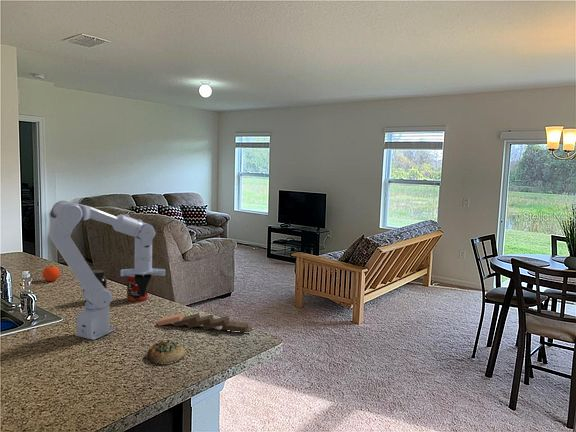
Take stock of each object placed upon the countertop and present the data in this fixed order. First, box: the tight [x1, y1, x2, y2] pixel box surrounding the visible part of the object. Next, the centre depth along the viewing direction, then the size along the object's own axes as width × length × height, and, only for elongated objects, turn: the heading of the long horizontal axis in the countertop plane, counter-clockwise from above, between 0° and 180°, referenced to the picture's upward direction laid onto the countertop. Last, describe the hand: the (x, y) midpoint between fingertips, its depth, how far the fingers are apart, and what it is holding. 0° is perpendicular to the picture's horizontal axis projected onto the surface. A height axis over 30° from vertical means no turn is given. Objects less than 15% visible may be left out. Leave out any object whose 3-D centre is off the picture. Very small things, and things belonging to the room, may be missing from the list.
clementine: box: [42, 265, 61, 282], centre depth 196 cm, size 8×7×7 cm
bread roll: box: [146, 339, 187, 365], centre depth 125 cm, size 11×11×5 cm
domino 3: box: [186, 314, 215, 329], centre depth 149 cm, size 2×4×8 cm
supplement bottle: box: [92, 269, 108, 289], centre depth 170 cm, size 7×7×12 cm
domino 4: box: [202, 315, 230, 330], centre depth 147 cm, size 2×4×8 cm
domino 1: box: [156, 312, 185, 327], centre depth 150 cm, size 2×4×8 cm
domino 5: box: [221, 320, 249, 332], centre depth 147 cm, size 2×4×8 cm
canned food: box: [126, 275, 149, 303], centre depth 175 cm, size 8×8×11 cm
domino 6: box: [230, 326, 253, 333], centre depth 147 cm, size 2×4×8 cm
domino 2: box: [173, 312, 201, 328], centre depth 149 cm, size 2×4×8 cm
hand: (142, 295), depth 150 cm, fingers closed
